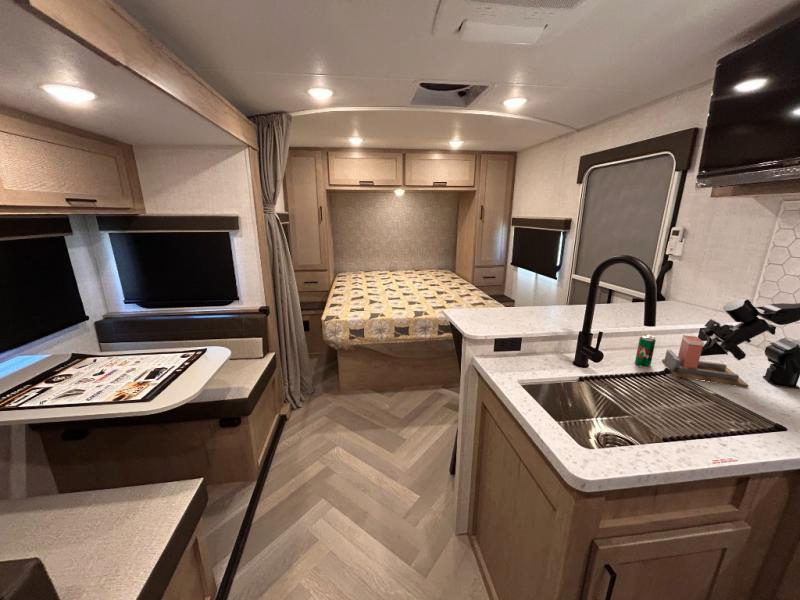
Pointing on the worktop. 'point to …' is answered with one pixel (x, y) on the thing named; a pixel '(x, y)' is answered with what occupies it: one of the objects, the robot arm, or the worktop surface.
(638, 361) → the soda can
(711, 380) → the board
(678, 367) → the guide rails
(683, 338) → the red plug
